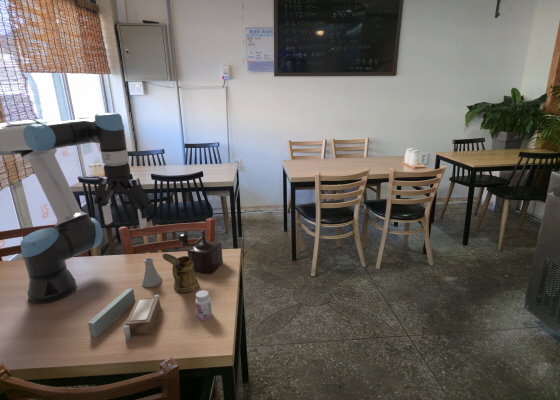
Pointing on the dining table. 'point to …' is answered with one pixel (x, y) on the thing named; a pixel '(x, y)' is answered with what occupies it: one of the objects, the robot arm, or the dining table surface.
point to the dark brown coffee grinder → (203, 254)
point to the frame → (143, 316)
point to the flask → (151, 274)
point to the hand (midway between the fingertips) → (126, 225)
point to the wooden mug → (182, 273)
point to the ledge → (113, 314)
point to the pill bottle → (203, 305)
